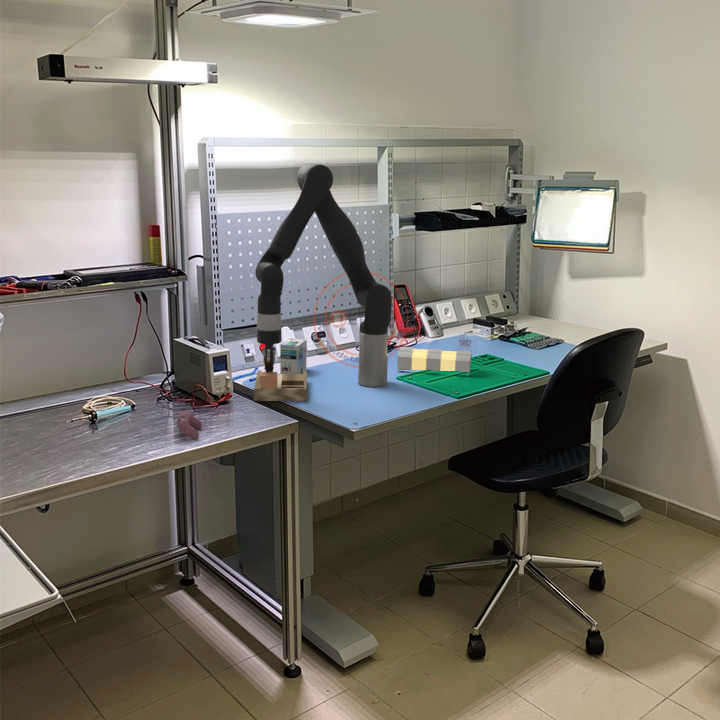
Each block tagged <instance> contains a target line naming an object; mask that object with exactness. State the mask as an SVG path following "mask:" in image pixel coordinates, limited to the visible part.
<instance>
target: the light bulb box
mask: <svg viewBox="0 0 720 720" xmlns="http://www.w3.org/2000/svg"><path fill="white" fill-rule="evenodd" d="M307 342H308V341H307V339H302V338H301V339H300V338H288V339H286V340H285V341H283V342H281V344H280V343H279V344H280V345H279V349H280V350H279V351H280V353H279V354H280V355H279V356H280V358H279V359H280V360H279V364H280V368H279V369H280V370H279V371H280V373H279V374H304V371H307V358H308V357H307V352H308V351H307V349H308V347H307V346H308V345H307V344H308V343H307Z"/></svg>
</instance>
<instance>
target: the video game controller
mask: <svg viewBox="0 0 720 720" xmlns="http://www.w3.org/2000/svg"><path fill="white" fill-rule="evenodd" d="M176 426H177V429H178V430H179V431H180V433H182V434H183V435H184V436H185V437H188V438H190V439H191V440H198V439H199V438H200V434H199V432H198V430H196V429H201V428H202V427H203V423H202V422H201V421H200V420H199V419H198V418H196V417H195V416H194V415H193V414H192V413H191V412H189V411H188V410H186V411H182V412H180V413H178V414H177V420H176Z"/></svg>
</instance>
